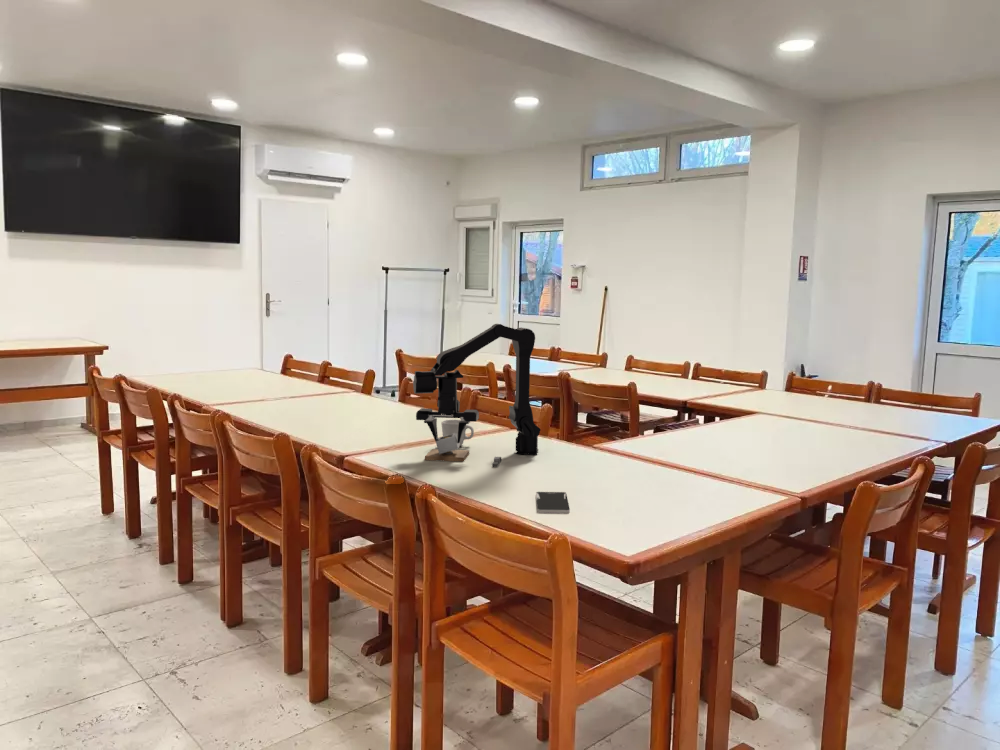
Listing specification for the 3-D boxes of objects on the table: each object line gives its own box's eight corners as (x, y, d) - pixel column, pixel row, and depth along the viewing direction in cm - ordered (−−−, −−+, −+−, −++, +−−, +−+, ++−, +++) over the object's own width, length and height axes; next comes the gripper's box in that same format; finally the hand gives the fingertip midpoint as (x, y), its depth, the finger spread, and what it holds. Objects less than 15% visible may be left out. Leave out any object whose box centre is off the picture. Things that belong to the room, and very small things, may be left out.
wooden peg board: (469, 454, 231) (469, 434, 230) (463, 461, 221) (463, 441, 221) (432, 452, 233) (432, 433, 232) (424, 460, 223) (424, 440, 222)
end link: (460, 444, 229) (456, 432, 228) (458, 448, 223) (454, 436, 222) (441, 449, 229) (438, 437, 229) (439, 454, 223) (435, 441, 223)
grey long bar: (501, 460, 223) (501, 454, 223) (497, 467, 215) (497, 461, 214) (496, 459, 224) (496, 454, 223) (492, 467, 215) (492, 461, 215)
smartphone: (537, 509, 172) (536, 491, 187) (537, 515, 172) (535, 496, 187) (569, 510, 172) (565, 491, 187) (569, 515, 172) (565, 496, 187)
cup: (475, 443, 247) (475, 420, 246) (472, 448, 239) (472, 424, 238) (443, 442, 248) (443, 419, 247) (439, 447, 240) (439, 423, 239)
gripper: (481, 389, 231) (481, 438, 233) (423, 388, 234) (424, 436, 236) (475, 394, 220) (475, 445, 222) (415, 393, 223) (415, 443, 225)
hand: (447, 442), depth 227 cm, fingers closed on end link, 7 cm apart
